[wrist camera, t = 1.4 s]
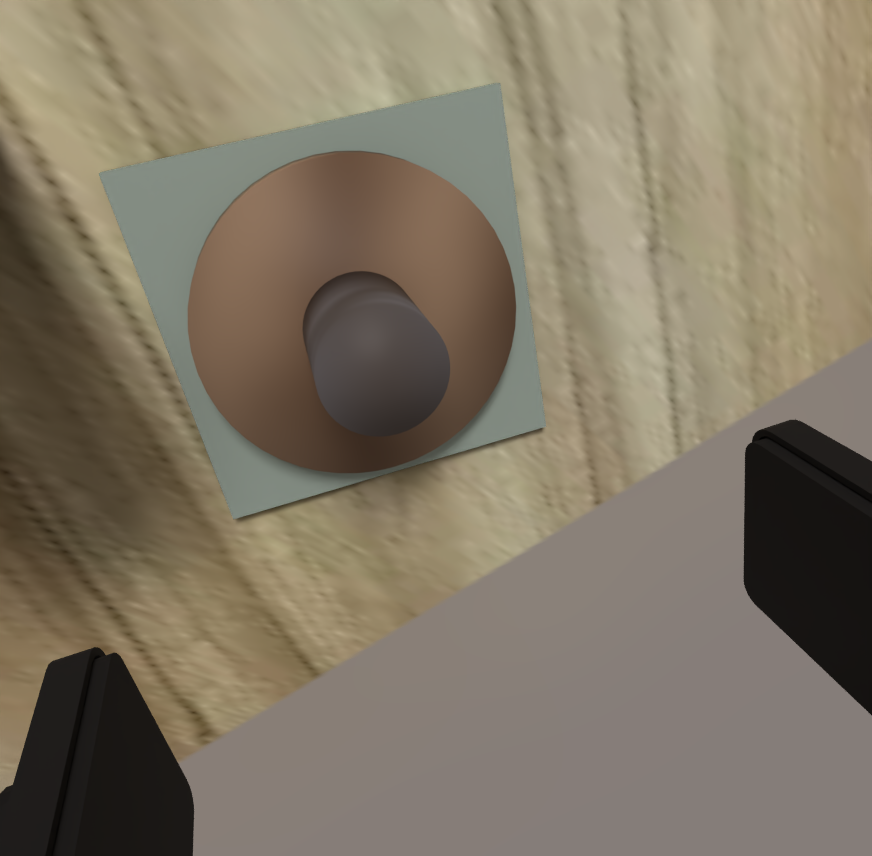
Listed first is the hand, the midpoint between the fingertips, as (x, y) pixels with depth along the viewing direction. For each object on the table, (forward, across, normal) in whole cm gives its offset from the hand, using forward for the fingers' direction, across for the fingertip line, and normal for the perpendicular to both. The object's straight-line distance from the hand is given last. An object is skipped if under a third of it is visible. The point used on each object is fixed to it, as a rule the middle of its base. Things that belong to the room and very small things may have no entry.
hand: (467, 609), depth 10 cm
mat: (+15, -1, 0) cm, 15 cm away
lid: (+14, -1, 0) cm, 14 cm away
